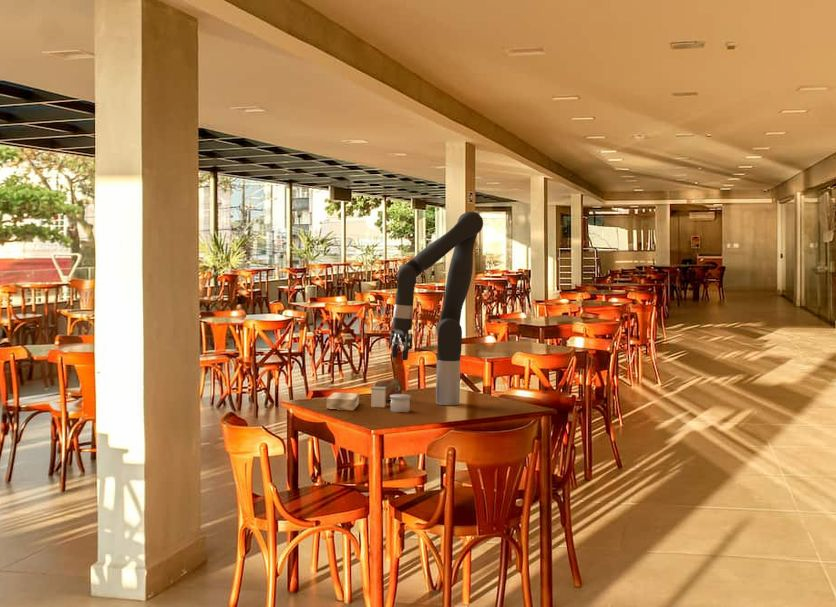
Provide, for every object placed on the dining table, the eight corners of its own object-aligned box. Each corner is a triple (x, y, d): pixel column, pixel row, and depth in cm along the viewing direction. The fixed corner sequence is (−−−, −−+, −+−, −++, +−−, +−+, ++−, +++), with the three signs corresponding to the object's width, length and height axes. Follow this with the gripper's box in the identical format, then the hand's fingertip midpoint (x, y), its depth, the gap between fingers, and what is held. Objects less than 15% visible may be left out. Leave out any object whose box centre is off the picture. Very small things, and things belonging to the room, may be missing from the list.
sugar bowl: (410, 409, 349) (411, 394, 349) (409, 413, 341) (409, 397, 341) (390, 409, 349) (390, 393, 349) (388, 412, 342) (389, 396, 342)
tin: (378, 402, 364) (378, 381, 363) (372, 402, 366) (372, 380, 365) (402, 398, 376) (402, 377, 375) (396, 397, 378) (396, 377, 377)
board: (358, 403, 360) (358, 393, 360) (353, 410, 344) (353, 399, 344) (333, 402, 361) (333, 392, 361) (326, 409, 345) (326, 398, 345)
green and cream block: (386, 405, 359) (386, 386, 358) (384, 407, 353) (385, 388, 353) (372, 404, 359) (372, 386, 358) (370, 407, 353) (370, 388, 353)
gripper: (420, 319, 356) (416, 361, 357) (403, 315, 369) (399, 356, 369) (402, 317, 353) (399, 360, 353) (386, 314, 365) (382, 356, 366)
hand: (399, 358), depth 361 cm, fingers open, 8 cm apart
